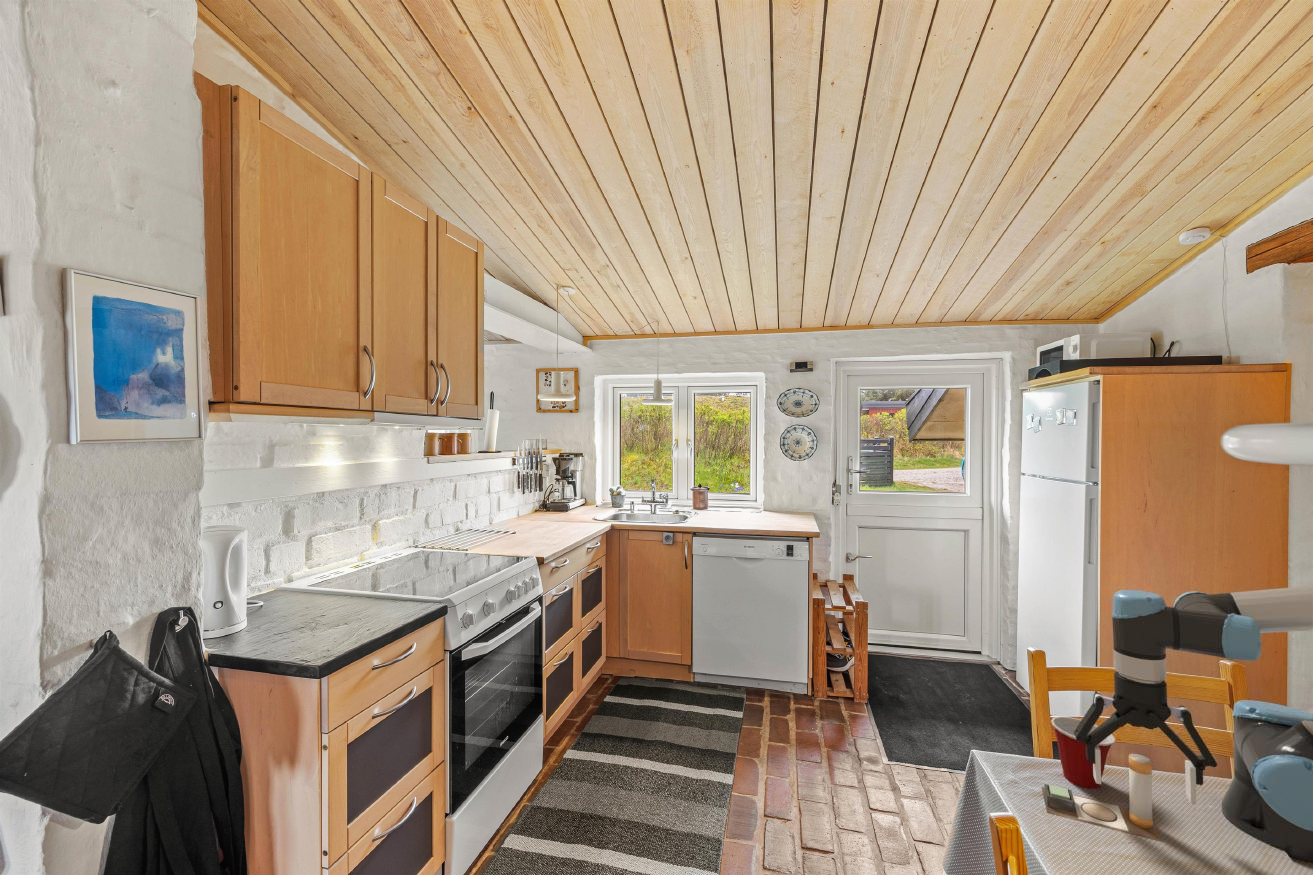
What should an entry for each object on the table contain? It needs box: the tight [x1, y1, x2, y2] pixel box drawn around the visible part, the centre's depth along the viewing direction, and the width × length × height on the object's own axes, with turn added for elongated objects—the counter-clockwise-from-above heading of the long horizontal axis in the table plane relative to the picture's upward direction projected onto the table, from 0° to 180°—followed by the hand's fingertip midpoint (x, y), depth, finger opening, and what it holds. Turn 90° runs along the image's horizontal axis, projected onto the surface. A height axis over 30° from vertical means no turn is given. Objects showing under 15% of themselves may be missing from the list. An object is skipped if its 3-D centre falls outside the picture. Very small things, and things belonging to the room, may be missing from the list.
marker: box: [1128, 753, 1154, 829], centre depth 106 cm, size 3×3×12 cm
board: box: [1041, 783, 1163, 843], centre depth 109 cm, size 17×9×3 cm, turn 62°
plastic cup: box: [1050, 716, 1116, 790], centre depth 119 cm, size 11×11×12 cm
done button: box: [1048, 784, 1070, 800], centre depth 112 cm, size 3×3×2 cm
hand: (1142, 789), depth 106 cm, fingers open, 13 cm apart
